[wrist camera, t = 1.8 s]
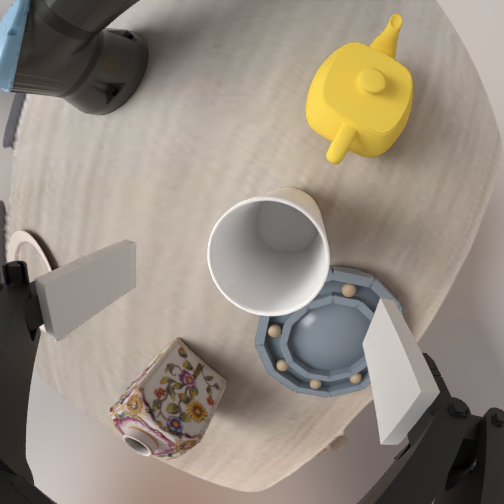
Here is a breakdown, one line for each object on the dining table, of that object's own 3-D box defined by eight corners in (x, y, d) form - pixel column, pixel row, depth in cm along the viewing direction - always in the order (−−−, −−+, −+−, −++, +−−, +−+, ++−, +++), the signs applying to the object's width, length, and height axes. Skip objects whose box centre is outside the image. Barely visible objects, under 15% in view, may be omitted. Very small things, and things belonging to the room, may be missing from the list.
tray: (274, 251, 34) (271, 256, 32) (418, 281, 31) (425, 289, 28) (250, 370, 40) (246, 381, 38) (369, 391, 37) (371, 402, 34)
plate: (50, 342, 54) (45, 345, 52) (6, 264, 51) (1, 266, 49) (82, 305, 45) (76, 309, 44) (29, 205, 43) (22, 207, 41)
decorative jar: (192, 403, 46) (152, 472, 29) (146, 364, 45) (92, 426, 28) (231, 380, 42) (193, 466, 25) (179, 334, 41) (116, 409, 24)
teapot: (340, 34, 24) (348, -12, 14) (417, 73, 24) (451, 42, 13) (284, 146, 30) (272, 131, 20) (367, 189, 30) (393, 195, 19)
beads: (281, 265, 33) (279, 270, 31) (410, 292, 30) (414, 298, 29) (258, 371, 38) (256, 379, 37) (366, 390, 35) (367, 398, 34)
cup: (318, 184, 31) (325, 190, 16) (323, 251, 33) (332, 314, 18) (250, 191, 33) (197, 204, 18) (258, 256, 35) (217, 317, 20)
